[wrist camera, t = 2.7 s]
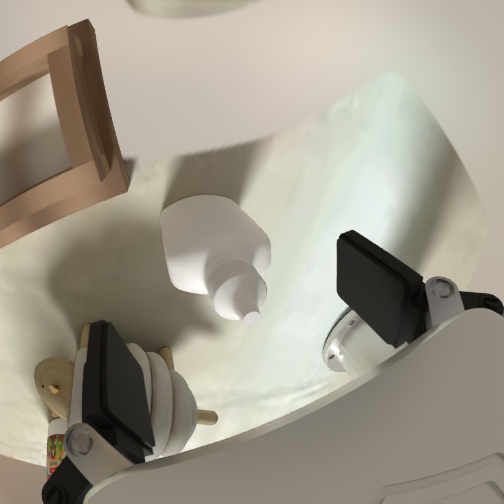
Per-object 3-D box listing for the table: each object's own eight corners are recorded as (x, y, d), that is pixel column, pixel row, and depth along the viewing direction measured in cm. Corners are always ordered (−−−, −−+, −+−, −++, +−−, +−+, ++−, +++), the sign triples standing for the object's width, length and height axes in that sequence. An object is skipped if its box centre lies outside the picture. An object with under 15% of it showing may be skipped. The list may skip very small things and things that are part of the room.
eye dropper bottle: (219, 252, 23) (282, 362, 12) (152, 232, 20) (165, 349, 10) (242, 202, 21) (332, 285, 11) (173, 176, 19) (205, 249, 9)
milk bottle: (110, 432, 28) (134, 564, 12) (83, 446, 28) (99, 561, 12) (63, 409, 24) (72, 557, 7) (40, 425, 24) (45, 551, 7)
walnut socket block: (94, 29, 12) (75, -2, 7) (130, 183, 18) (122, 208, 13) (-36, 104, 9) (-80, 108, 4) (3, 240, 15) (-31, 278, 10)
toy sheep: (50, 288, 19) (13, 394, 9) (225, 334, 27) (267, 429, 17) (45, 367, 21) (33, 459, 12) (188, 397, 29) (213, 479, 20)
